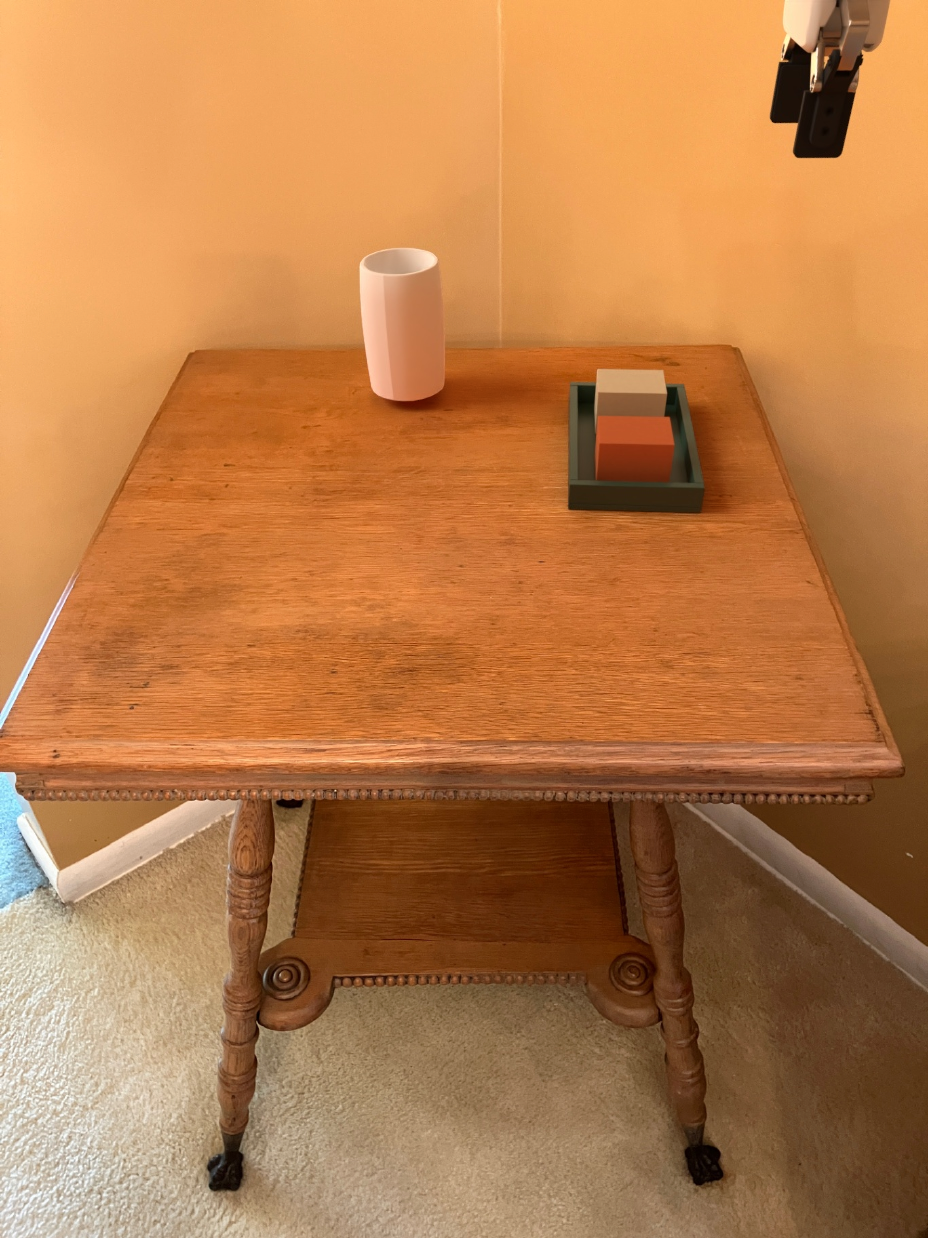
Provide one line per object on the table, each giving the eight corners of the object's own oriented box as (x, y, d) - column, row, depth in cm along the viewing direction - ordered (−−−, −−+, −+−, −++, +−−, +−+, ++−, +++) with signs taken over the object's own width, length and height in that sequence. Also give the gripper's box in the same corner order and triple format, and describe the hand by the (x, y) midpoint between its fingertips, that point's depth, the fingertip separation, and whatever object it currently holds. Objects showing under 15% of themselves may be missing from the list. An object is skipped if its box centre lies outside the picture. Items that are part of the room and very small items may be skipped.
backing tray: (700, 513, 80) (705, 487, 78) (567, 509, 81) (569, 484, 79) (681, 406, 95) (684, 383, 93) (568, 404, 96) (569, 381, 94)
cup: (459, 382, 100) (454, 250, 91) (431, 418, 94) (423, 280, 85) (387, 372, 103) (376, 242, 93) (356, 406, 97) (341, 271, 88)
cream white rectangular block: (661, 435, 89) (667, 393, 86) (594, 433, 90) (597, 391, 87) (658, 410, 93) (663, 369, 90) (594, 409, 94) (597, 368, 91)
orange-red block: (668, 488, 82) (674, 444, 79) (595, 486, 83) (599, 442, 80) (664, 459, 86) (670, 416, 83) (594, 458, 86) (597, 415, 84)
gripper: (976, -177, 48) (887, 172, 60) (890, -176, 61) (830, 110, 73) (830, -172, 49) (769, 172, 60) (776, -172, 62) (734, 111, 73)
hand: (802, 138), depth 66 cm, fingers open, 9 cm apart
